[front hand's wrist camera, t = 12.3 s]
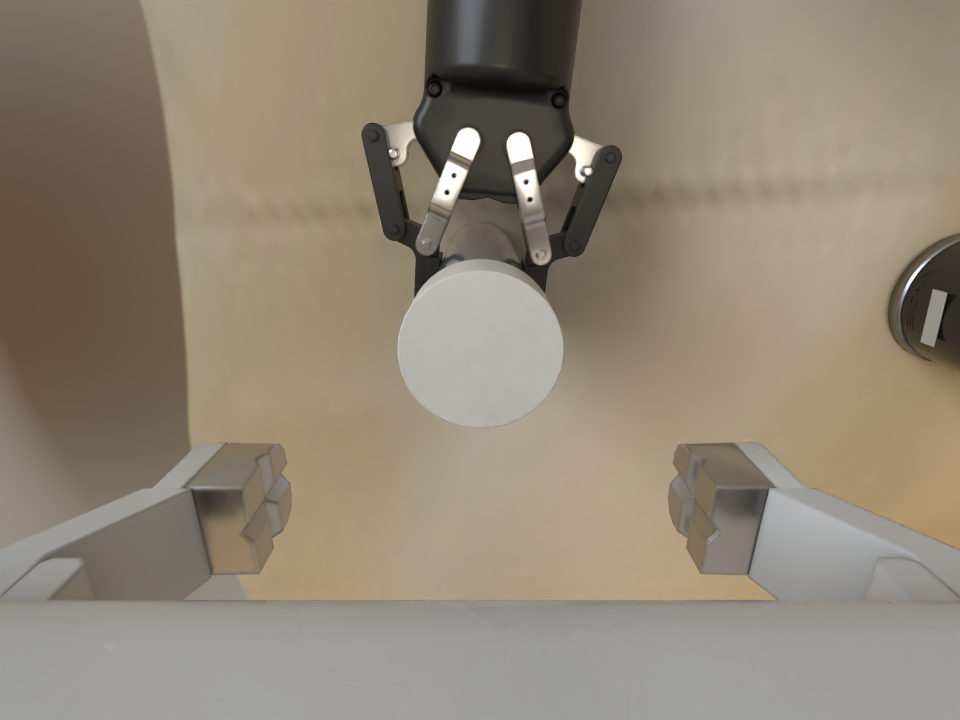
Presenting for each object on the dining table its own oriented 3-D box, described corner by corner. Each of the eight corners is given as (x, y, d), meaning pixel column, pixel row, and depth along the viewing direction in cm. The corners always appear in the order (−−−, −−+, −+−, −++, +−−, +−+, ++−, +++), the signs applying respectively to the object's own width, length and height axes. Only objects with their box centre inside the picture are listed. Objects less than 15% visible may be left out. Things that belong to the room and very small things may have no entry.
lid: (563, 263, 18) (574, 276, 16) (546, 404, 20) (554, 432, 18) (408, 253, 18) (398, 264, 16) (405, 395, 20) (396, 423, 18)
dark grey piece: (517, 225, 35) (558, 285, 17) (511, 292, 37) (542, 416, 18) (448, 220, 35) (412, 275, 17) (445, 288, 37) (409, 408, 18)
